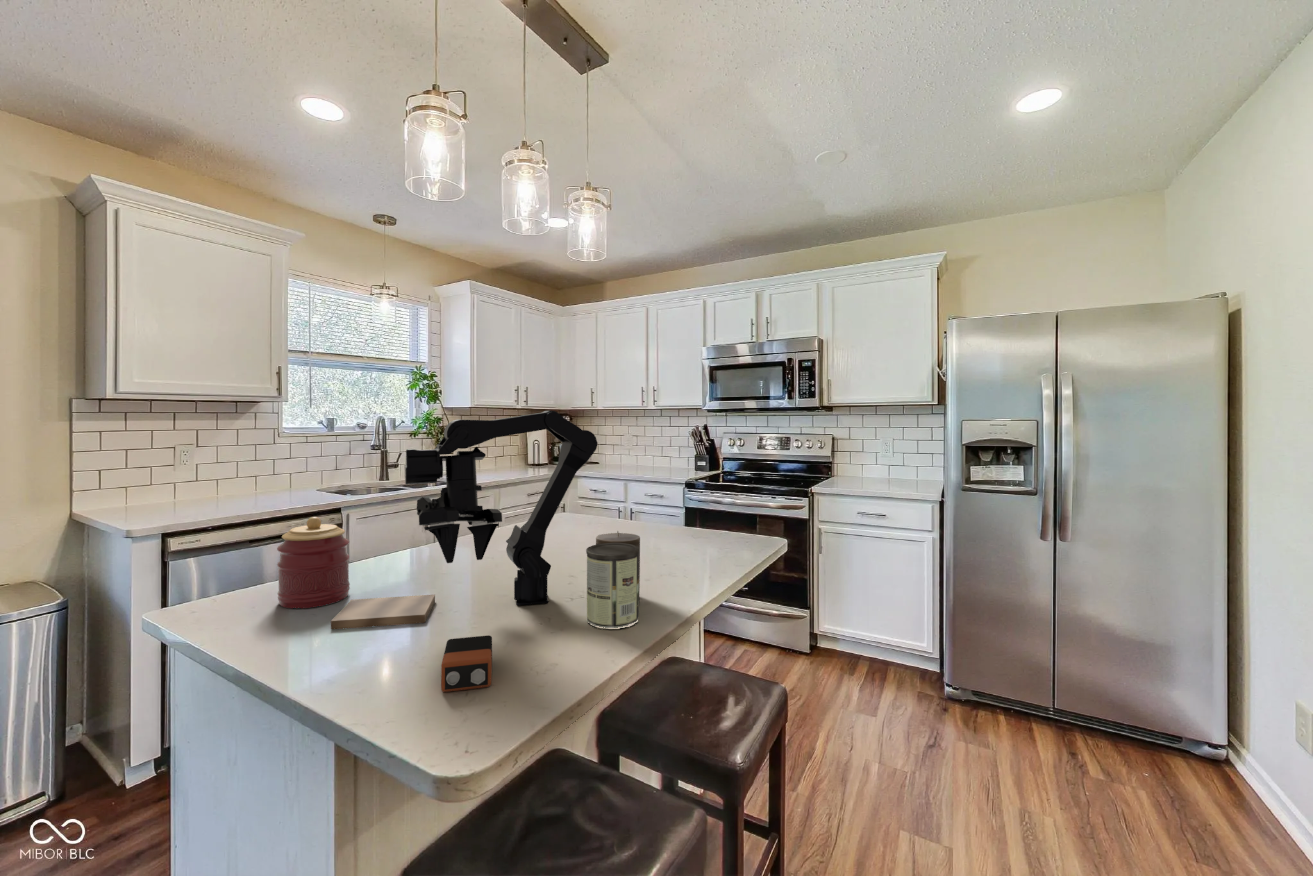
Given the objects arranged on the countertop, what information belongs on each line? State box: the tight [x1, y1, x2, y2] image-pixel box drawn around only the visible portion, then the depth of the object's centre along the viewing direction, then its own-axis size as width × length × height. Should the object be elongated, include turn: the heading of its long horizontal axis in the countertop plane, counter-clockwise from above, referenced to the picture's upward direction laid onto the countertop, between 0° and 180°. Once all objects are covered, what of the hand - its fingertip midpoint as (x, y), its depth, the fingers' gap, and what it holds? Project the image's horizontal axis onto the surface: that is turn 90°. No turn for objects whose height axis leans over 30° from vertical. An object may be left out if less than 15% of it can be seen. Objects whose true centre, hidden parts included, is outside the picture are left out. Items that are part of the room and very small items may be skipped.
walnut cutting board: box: [330, 594, 436, 630], centre depth 107 cm, size 16×12×2 cm
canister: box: [276, 516, 351, 610], centre depth 115 cm, size 13×13×18 cm
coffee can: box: [585, 543, 641, 628], centre depth 105 cm, size 10×10×14 cm
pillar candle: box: [595, 530, 641, 589], centre depth 117 cm, size 10×10×15 cm
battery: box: [440, 634, 493, 693], centre depth 81 cm, size 4×7×10 cm
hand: (465, 561), depth 105 cm, fingers open, 9 cm apart
